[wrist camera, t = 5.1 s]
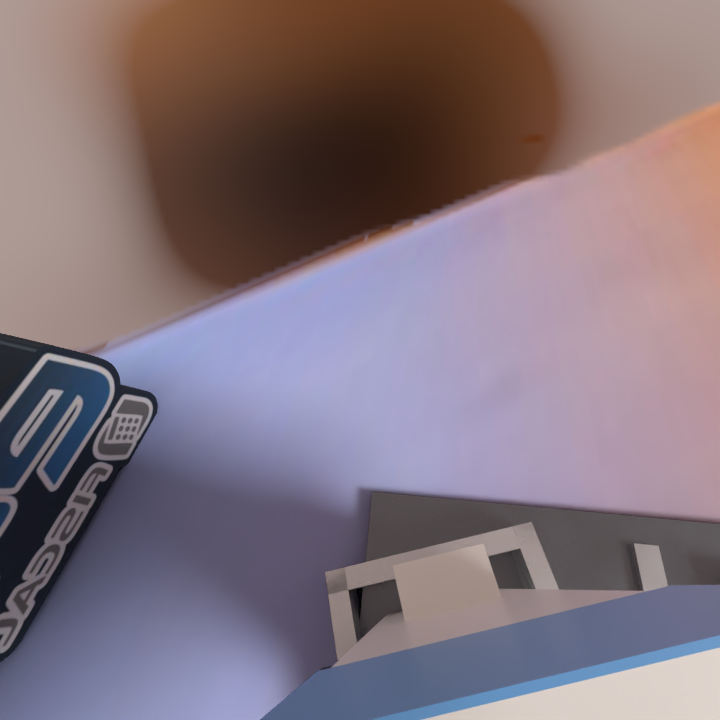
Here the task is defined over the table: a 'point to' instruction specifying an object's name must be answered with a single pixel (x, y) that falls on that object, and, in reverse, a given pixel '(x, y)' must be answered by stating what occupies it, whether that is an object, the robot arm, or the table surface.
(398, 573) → the plug
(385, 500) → the panel
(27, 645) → the table surface
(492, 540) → the gray square frame
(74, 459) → the logo
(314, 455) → the table surface
